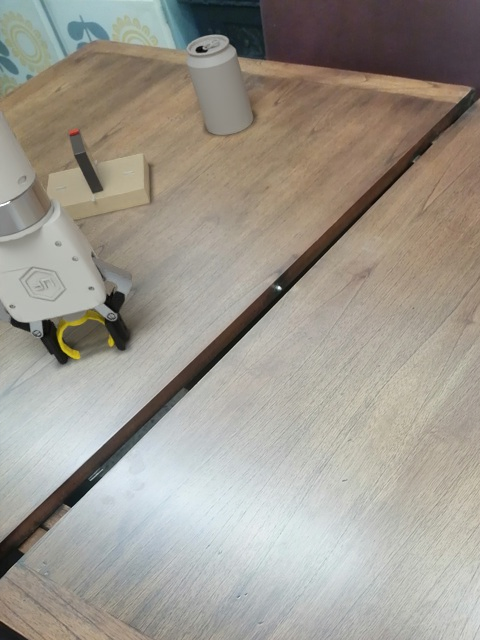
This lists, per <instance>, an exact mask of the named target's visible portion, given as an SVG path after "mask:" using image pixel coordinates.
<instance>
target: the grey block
mask: <svg viewBox="0 0 480 640" xmlns="http://www.w3.org/2000/svg"><path fill="white" fill-rule="evenodd" d="M67 135H68V137H69V142H70V146H71V149H72V152H73V153H72V154H73V157H74V159H75V161H76V162H77V165H78V167H80V169H81V171H82V173H83V175H84V177H85V179H86V181H87V183H88V185H89V187H90V189H91V192H92V193H96V192H100V191H103V186H102V183H101V179H100V176H99V172H98V169H97V166H96V164H95V160H94V158H93V155H92V153H91V151H90V148H89V147H88V145H87V142H86V140H85V138H84V136H83V134H82V132H81V129H79V128H78V127H76V128H73V129H69V130H68V132H67Z"/></svg>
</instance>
